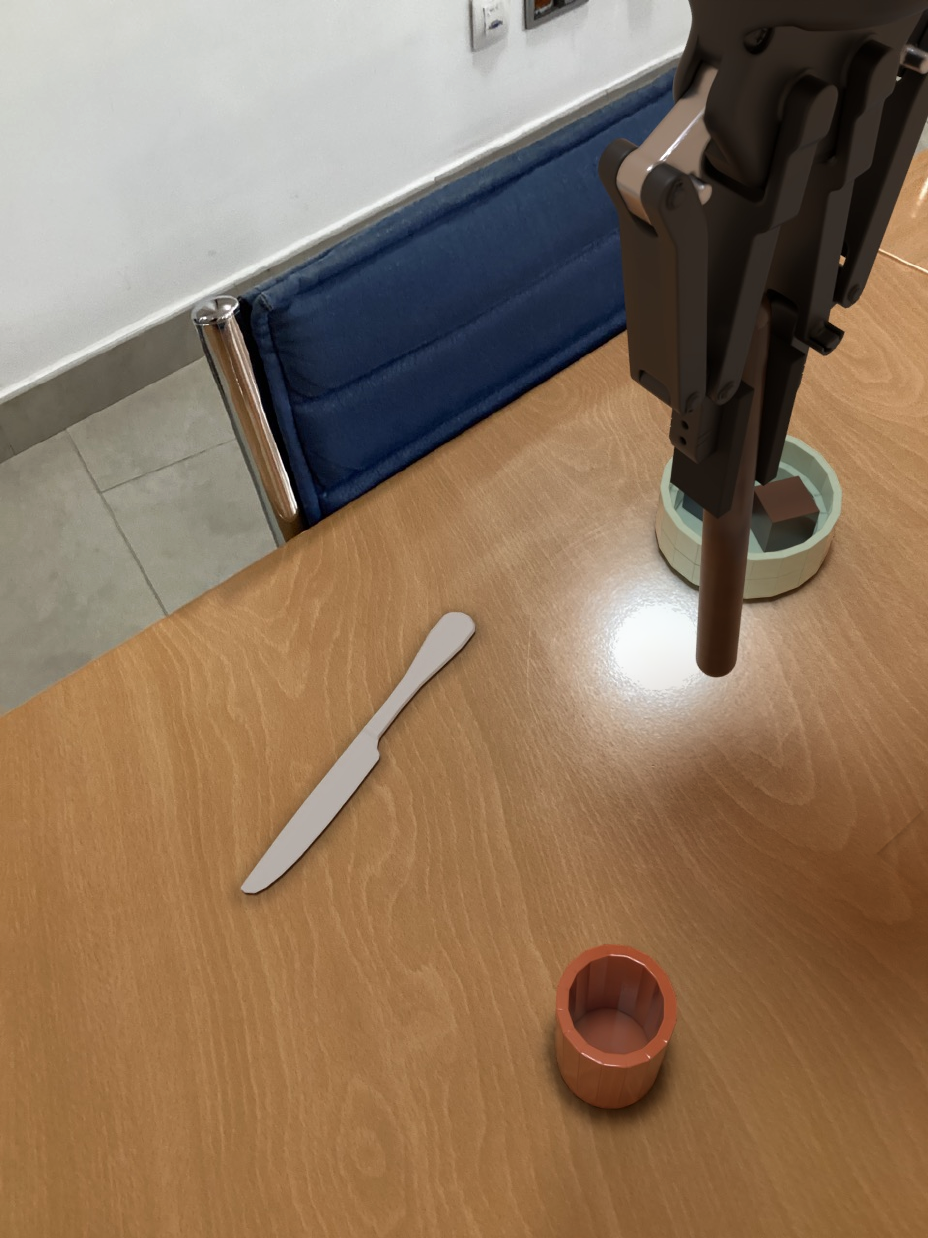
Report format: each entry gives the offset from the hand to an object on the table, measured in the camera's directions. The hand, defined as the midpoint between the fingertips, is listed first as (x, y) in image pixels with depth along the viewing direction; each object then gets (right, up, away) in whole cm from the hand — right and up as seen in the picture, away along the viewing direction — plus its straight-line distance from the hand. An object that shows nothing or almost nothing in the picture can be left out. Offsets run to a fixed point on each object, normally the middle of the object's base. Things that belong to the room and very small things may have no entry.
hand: (723, 478), depth 44 cm
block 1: (+8, +2, +35) cm, 36 cm away
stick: (+2, -8, +10) cm, 13 cm away
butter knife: (-17, -14, +26) cm, 34 cm away
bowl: (+9, 0, +34) cm, 35 cm away
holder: (-3, -29, +14) cm, 33 cm away
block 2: (+12, +1, +33) cm, 35 cm away
